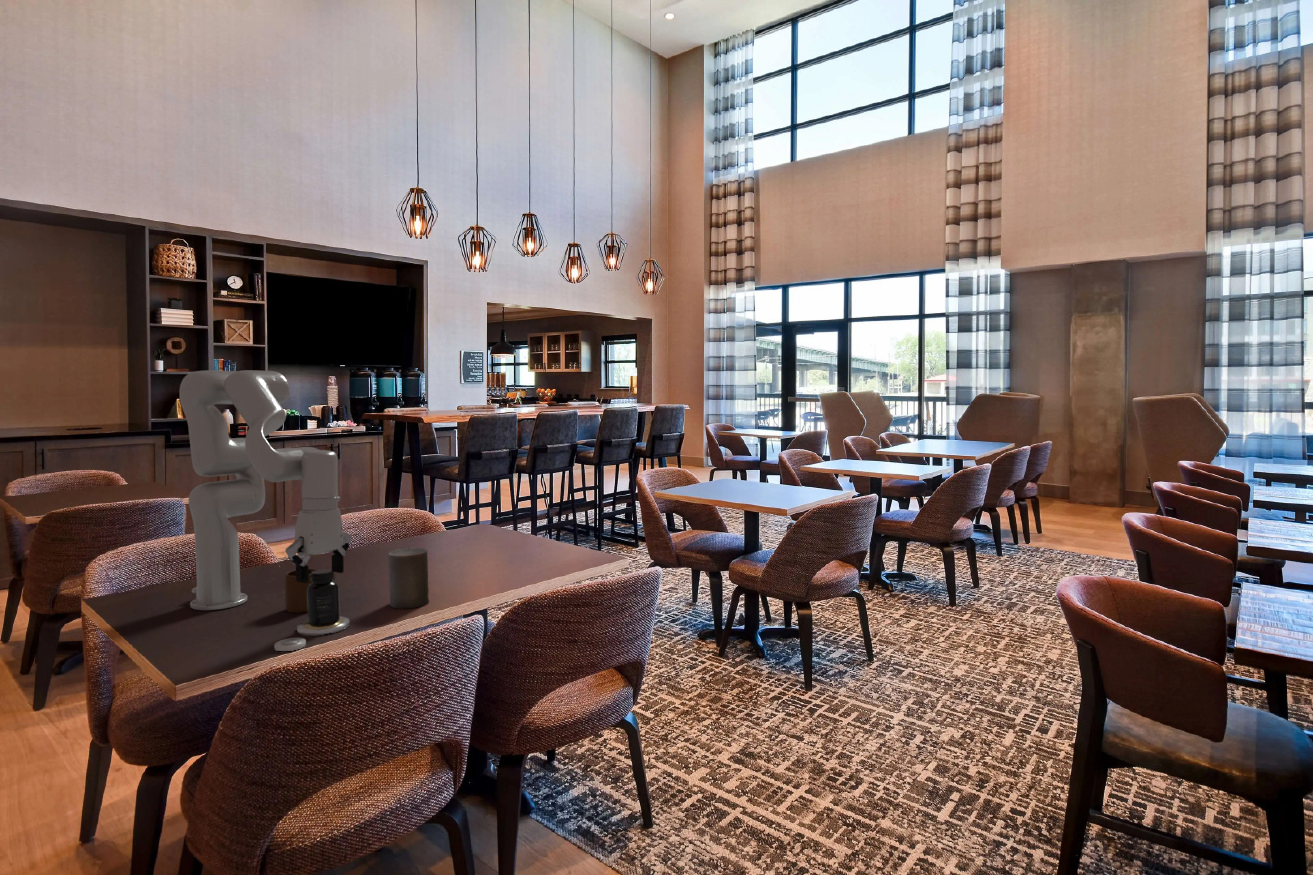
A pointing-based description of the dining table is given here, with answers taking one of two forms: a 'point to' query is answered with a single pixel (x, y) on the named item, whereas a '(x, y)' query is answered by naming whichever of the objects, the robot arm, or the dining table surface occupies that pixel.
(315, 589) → the supplement bottle
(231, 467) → the robot arm
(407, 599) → the pillar candle
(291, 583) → the mug
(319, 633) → the silver and gold coaster
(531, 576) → the dining table surface
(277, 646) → the plastic flange
